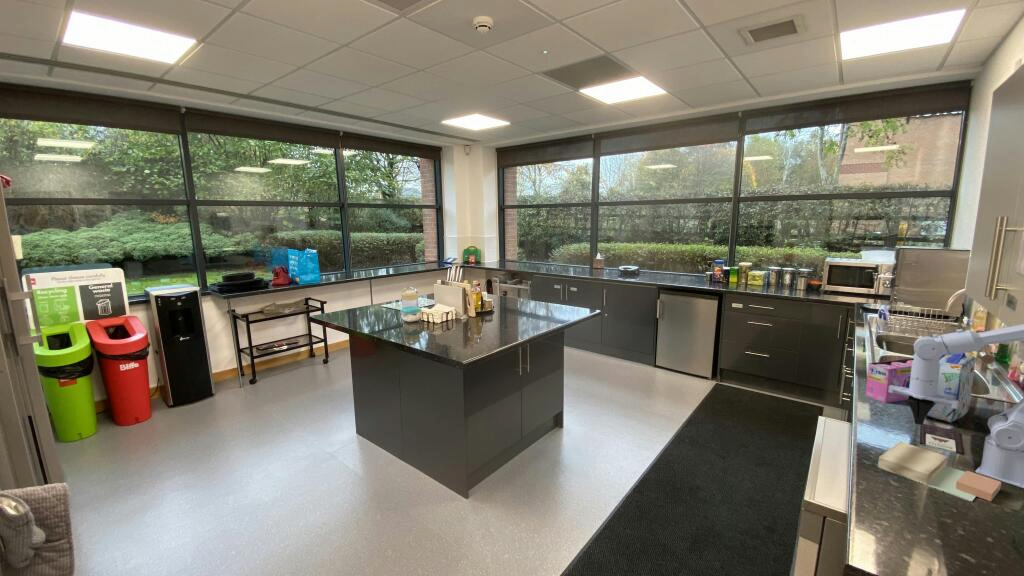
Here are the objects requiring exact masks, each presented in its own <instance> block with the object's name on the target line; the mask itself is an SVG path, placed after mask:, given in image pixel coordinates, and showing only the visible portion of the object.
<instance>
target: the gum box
mask: <svg viewBox="0 0 1024 576" xmlns="http://www.w3.org/2000/svg"><path fill="white" fill-rule="evenodd" d="M913 360H914V359H913V358H901V359H895V360H887V361H886V360H885V361H877V362H875V361H874V362H868V365H867V366H868V367H867V377H866V384H865V385H866V386H865V394H864V396H865V397H868V398H872V399H874V400H877V401H879V402H882V403H885V404H887V403H888V404H889V403H894V402H902V401H907V399H908V398H909V396H905V395H900V394H896V393H890V392H888V391H889V386H891V385H894V386H899V387H905V388H909V386H910V377H911V368H912V361H913Z"/></svg>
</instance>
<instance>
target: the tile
mask: <svg viewBox="0 0 1024 576" xmlns="http://www.w3.org/2000/svg"><path fill="white" fill-rule="evenodd" d="M964 472H965V473H964V474H963V475H962V476H961V477H960V478H959V479H958V480H957V482H956V489H958V490H960V491H963V492H966V493H969V494H971V495H974V496H976V497H977V498H980V499H982V500H986V501H988V502H992V501H993V499H994V498H995V497H996V496H997V494H998V493H999V492H1000V491H1001V487H1002V481H1000V480H997V479H994V478H991V477H987V476H984V475H981V474H978V473H976V472H972V471H969V470H966V471H964Z"/></svg>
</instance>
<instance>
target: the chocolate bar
mask: <svg viewBox="0 0 1024 576" xmlns="http://www.w3.org/2000/svg"><path fill="white" fill-rule="evenodd" d="M921 444H925V445H928V446H927V447H929V446H931V447H930V448H933V447H935V448H934V449H937V448H938V450H941V449H942V451H945V450H946V451H947V452H949V453H955V454H958V455H960V456H961V455H963V446H962V439H961V432H960V431H958V430H955V429H954V430H953V429H950V428H949V429H948V428H944V427H939V426H937V425H936V426H935V425H932V424H926V423H923V424H922V425H921V426H920V430H919V445H921ZM925 445H924V446H925Z"/></svg>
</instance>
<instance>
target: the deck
mask: <svg viewBox="0 0 1024 576" xmlns="http://www.w3.org/2000/svg"><path fill="white" fill-rule="evenodd" d="M948 458H949V456H947V455H944V454H941V453H937V452H934V451H931V450H928V449H925V448H922V447H919V446H916V445H913V444H909V443H906V442H904V441H899V442H898V443H897V444H895V445H894V446H892V447H891V448H890V449H888V450H887V451H885V452H884V453H883V454H881V455H880V456H878V462H877V468H879V469H882V470H885V471H887V472H890V473H892V474H896V475H898V476H901V477H903V478H906V479H908V480H911V481H914V482H917V483H919V482H920V483H919V484H922V483H923V484H922V485H925V486H927V484H928V483H929V482H930V481H931V480H932V479H933V478H934V477H935V476H936V475H937V474H938V473H939V472H940V471H941V470H943V469H944V468H945V467H946V466H948Z"/></svg>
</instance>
